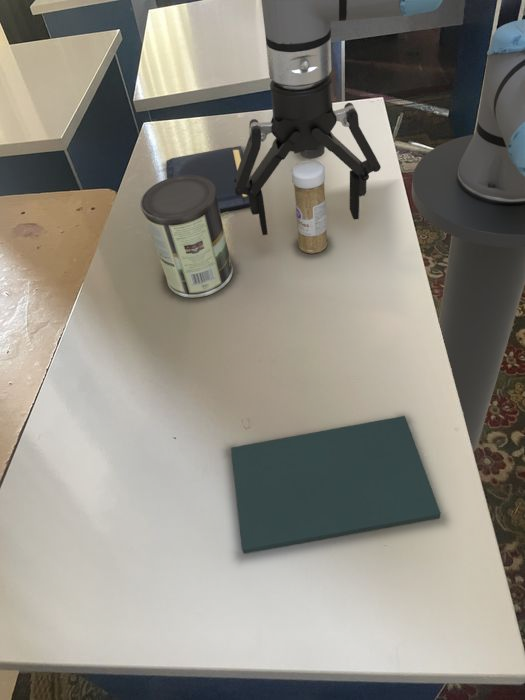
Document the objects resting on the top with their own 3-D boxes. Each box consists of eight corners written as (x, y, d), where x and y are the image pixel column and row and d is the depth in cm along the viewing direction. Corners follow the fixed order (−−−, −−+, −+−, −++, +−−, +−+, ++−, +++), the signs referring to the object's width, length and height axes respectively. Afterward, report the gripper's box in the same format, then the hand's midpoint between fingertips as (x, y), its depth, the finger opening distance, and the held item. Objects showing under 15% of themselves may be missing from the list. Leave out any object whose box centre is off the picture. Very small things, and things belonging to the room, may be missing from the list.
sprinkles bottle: (292, 246, 88) (284, 168, 78) (314, 232, 90) (309, 154, 80) (312, 259, 85) (306, 180, 75) (334, 244, 87) (331, 166, 77)
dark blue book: (164, 153, 108) (243, 139, 108) (167, 162, 110) (244, 148, 110) (164, 213, 95) (253, 198, 95) (167, 222, 97) (255, 207, 96)
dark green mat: (404, 420, 65) (404, 415, 64) (439, 518, 57) (441, 513, 56) (232, 451, 65) (230, 447, 64) (243, 553, 57) (242, 549, 56)
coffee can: (204, 244, 91) (184, 166, 81) (246, 271, 86) (231, 190, 75) (153, 278, 87) (125, 200, 77) (194, 308, 82) (170, 228, 71)
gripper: (200, 108, 66) (228, 251, 82) (411, 72, 66) (399, 222, 82) (197, 81, 71) (224, 221, 87) (393, 47, 71) (384, 193, 87)
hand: (309, 222), depth 84 cm, fingers open, 13 cm apart
